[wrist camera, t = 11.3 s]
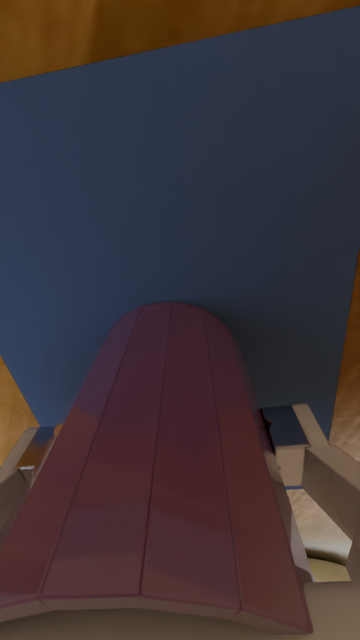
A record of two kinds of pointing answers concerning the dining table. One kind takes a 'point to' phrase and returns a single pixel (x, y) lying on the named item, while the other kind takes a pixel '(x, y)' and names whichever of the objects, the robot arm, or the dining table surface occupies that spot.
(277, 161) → the rectangular board
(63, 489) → the cup
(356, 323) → the dining table surface
